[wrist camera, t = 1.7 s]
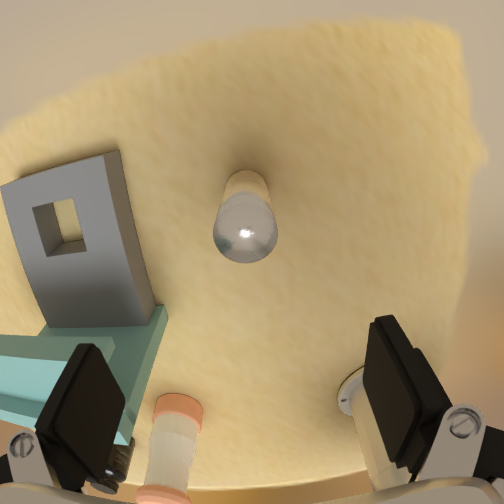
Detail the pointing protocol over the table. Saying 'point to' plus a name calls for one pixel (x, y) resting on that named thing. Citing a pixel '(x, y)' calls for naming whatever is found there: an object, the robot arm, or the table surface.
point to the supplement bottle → (116, 468)
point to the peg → (245, 219)
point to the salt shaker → (171, 450)
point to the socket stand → (79, 288)
